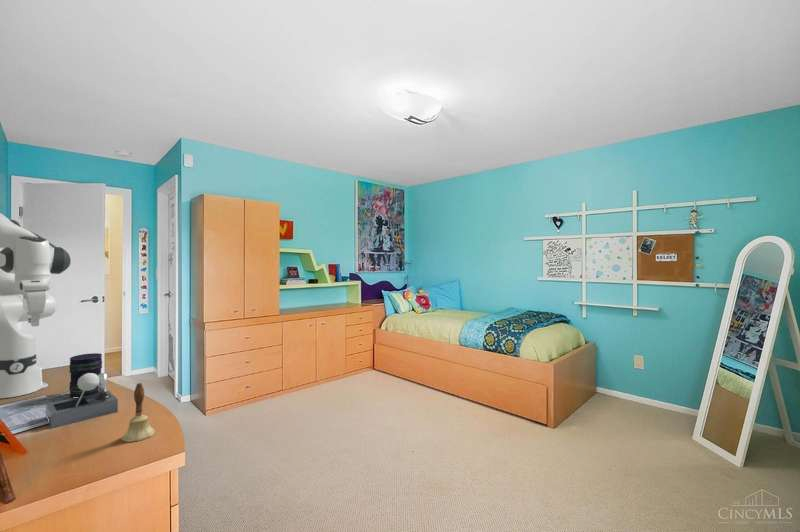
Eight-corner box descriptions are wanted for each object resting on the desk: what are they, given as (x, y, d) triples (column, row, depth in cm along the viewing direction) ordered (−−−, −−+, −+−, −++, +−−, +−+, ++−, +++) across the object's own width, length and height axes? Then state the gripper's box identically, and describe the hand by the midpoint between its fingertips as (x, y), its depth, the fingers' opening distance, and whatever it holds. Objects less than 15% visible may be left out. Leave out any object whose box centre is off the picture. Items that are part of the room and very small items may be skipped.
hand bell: (118, 436, 111) (118, 384, 111) (150, 426, 118) (150, 377, 117) (126, 445, 106) (126, 390, 106) (159, 435, 112) (159, 383, 112)
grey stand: (51, 428, 116) (51, 388, 115) (45, 417, 123) (45, 379, 123) (117, 411, 129) (117, 375, 129) (108, 402, 136) (108, 368, 136)
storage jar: (79, 399, 139) (79, 360, 139) (63, 396, 142) (63, 358, 142) (108, 391, 148) (108, 354, 148) (91, 388, 151) (91, 352, 151)
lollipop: (84, 420, 125) (106, 376, 128) (65, 421, 119) (88, 375, 123) (75, 414, 127) (97, 371, 131) (55, 414, 122) (78, 370, 126)
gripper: (17, 282, 129) (17, 321, 129) (23, 286, 116) (23, 329, 116) (41, 282, 134) (41, 319, 134) (50, 285, 121) (50, 326, 121)
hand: (33, 324), depth 125 cm, fingers open, 8 cm apart
